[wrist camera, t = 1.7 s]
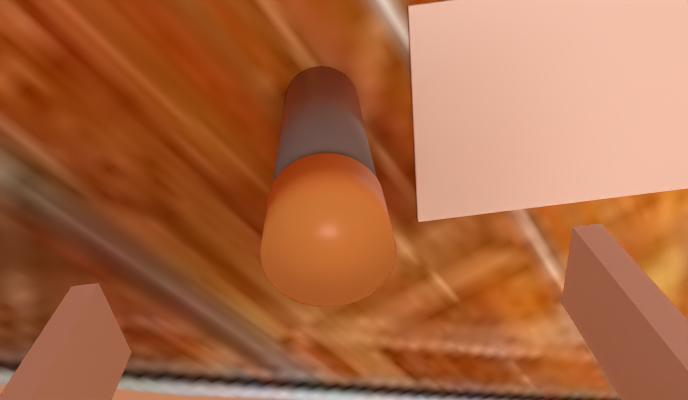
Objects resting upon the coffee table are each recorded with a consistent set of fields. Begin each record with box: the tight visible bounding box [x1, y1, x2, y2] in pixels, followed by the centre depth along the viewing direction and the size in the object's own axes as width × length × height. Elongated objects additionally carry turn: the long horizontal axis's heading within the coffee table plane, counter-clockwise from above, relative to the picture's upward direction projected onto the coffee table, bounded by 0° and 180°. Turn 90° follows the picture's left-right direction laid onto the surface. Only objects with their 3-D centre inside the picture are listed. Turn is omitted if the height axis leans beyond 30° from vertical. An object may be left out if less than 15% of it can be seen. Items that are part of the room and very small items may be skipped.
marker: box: [260, 66, 396, 307], centre depth 21 cm, size 4×4×14 cm
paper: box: [408, 0, 688, 222], centre depth 28 cm, size 18×13×1 cm
